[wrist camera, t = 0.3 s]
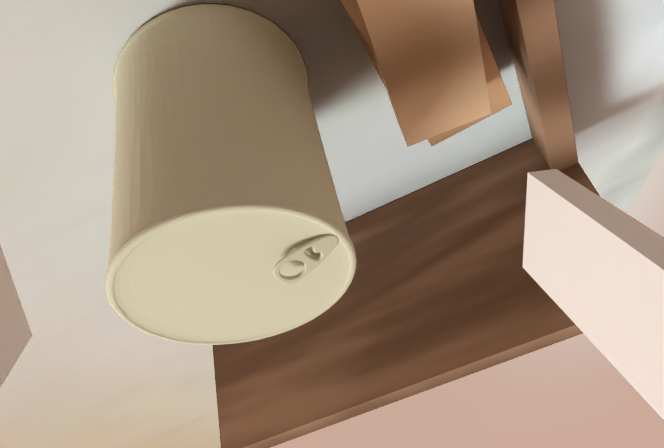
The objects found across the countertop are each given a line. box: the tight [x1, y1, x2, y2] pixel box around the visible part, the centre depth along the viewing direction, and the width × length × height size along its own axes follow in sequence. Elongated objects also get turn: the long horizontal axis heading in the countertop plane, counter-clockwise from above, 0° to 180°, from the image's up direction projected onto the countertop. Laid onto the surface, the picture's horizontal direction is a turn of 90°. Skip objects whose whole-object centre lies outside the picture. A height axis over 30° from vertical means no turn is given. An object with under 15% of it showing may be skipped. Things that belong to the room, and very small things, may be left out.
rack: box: [213, 0, 599, 448], centre depth 24 cm, size 31×26×12 cm
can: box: [105, 4, 357, 345], centre depth 25 cm, size 9×9×12 cm
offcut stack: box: [341, 0, 512, 146], centre depth 25 cm, size 15×5×5 cm, turn 25°
